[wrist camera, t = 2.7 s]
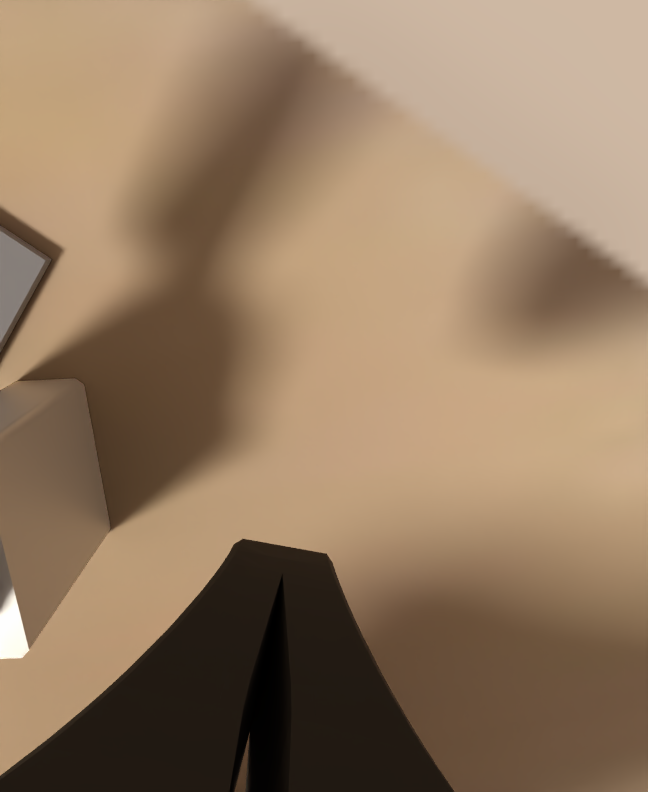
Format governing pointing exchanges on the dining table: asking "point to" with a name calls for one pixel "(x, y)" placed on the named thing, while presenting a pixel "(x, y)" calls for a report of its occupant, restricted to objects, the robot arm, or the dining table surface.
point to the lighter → (45, 503)
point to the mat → (17, 279)
